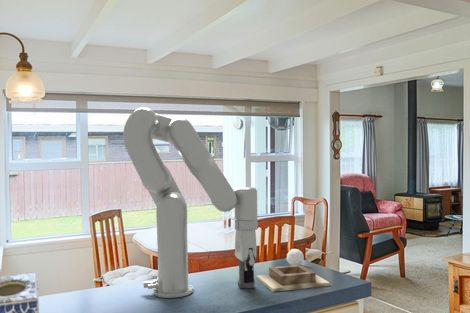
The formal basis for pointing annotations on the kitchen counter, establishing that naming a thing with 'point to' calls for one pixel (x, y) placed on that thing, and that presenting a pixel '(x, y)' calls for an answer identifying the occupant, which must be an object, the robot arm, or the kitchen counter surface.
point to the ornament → (295, 257)
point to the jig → (291, 278)
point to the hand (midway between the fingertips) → (246, 279)
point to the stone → (241, 276)
